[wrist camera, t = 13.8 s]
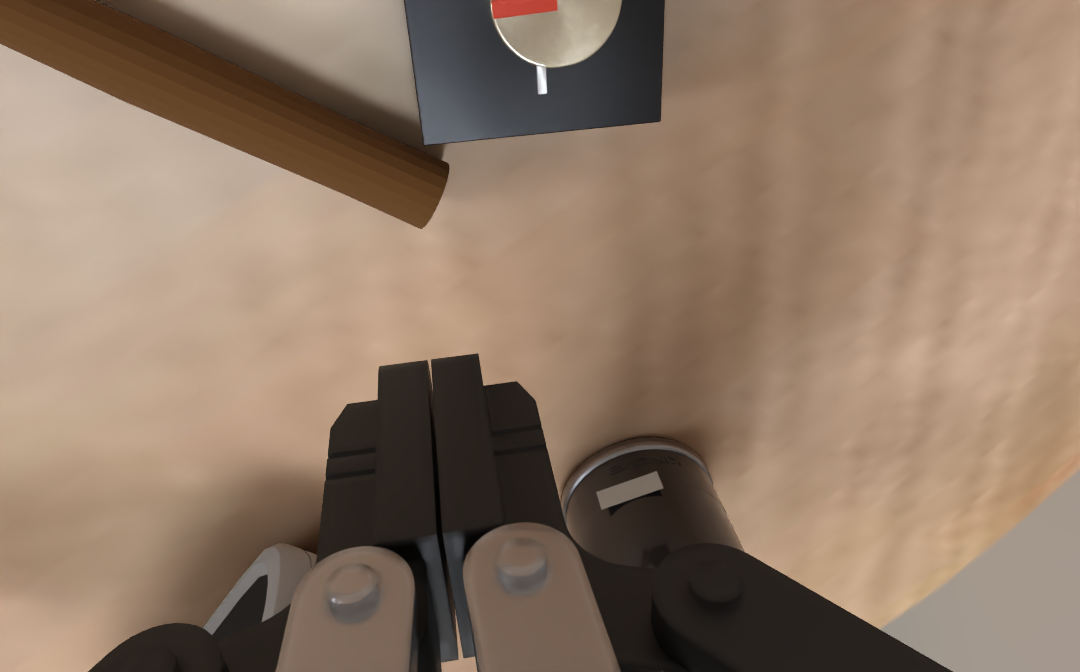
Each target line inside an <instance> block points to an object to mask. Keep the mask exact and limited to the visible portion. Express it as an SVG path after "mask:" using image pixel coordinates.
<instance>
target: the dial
mask: <svg viewBox="0 0 1080 672" xmlns="http://www.w3.org/2000/svg"><path fill="white" fill-rule="evenodd" d="M482 1H483V4H484V6H485V8H486V10H487V12H488V14H489V16H490V18H491V20H492V22H493V24H494V26H495V28H496V30H497V32H498V34H499V36H500V38H501V39H502V41H503V42H504V43H505V45H506V46H507V47H508V48H509V49H510V50H511V51H512V52H513V53H514V54H515V55H517V56H518V57H519V58H521V59H522V60H524V61H526V62H528V63H530V64H533V65H536V66H540V67H545V68H562V67H567V66H571V65H574V64H577V63H579V62H581V61H583V60H585V59H587V58H588V57H590V56H591V55H593V54H594V53H595V52H596V51H597V50H599V49H600V48H601V46H602V45H603V44H604V43H605V42H606V41H607V39H608V38H609V36H610V35H611V33H612V31H613V29H614V27H615V25H616V23H617V20H618V17H619V14H620V10H621V4H622V0H482Z"/></svg>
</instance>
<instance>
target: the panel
mask: <svg viewBox="0 0 1080 672" xmlns="http://www.w3.org/2000/svg"><path fill="white" fill-rule="evenodd" d="M404 4H405V12H406V19H407V27H408V34H409V41H410V49H411V56H412V63H413V71H414V78H415V86H416V93H417V100H418V108H419V115H420V122H421V130H422V137H423V144H424V145H435V144H445V143H455V142H465V141H474V140H484V139H494V138H504V137H514V136H524V135H534V134H544V133H554V132H564V131H574V130H584V129H594V128H603V127H613V126H623V125H633V124H643V123H653V122H660V121H661V97H662V68H663V38H664V8H665V0H622V4H621V10H620V14H619V17H618V20H617V23H616V25H615V27H614V29H613V31H612V33H611V35H610V36H609V38H608V39H607V41H606V42H605V43H604V44H603V45H602V46H601V48H600V49H599V50H597V51H596V52H595V53H594V54H593V55H591V56H590V57H588V58H587V59H585V60H583V61H581V62H579V63H577V64H574V65H571V66H567V67H562V68H545V67H540V66H536V65H533V64H530V63H528V62H526V61H524V60H522V59H521V58H519V57H518V56H517V55H515V54H514V53H513V52H512V51H511V50H510V49H509V48H508V47H507V46H506V45H505V43H504V42H503V41H502V39H501V38H500V36H499V34H498V32H497V30H496V28H495V26H494V24H493V22H492V20H491V18H490V16H489V14H488V12H487V10H486V8H485V6H484V4H483V1H482V0H404Z"/></svg>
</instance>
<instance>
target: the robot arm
mask: <svg viewBox="0 0 1080 672" xmlns="http://www.w3.org/2000/svg"><path fill="white" fill-rule="evenodd" d="M431 367H432V382H433V389H432V383H431V377H430V370H429V365H428V361H427V360H425V361H417V362H410V363H402V364H394V365H386V366H380V367H379V373H378V400H374V401H367V402H359V403H351V404H347V405H346V407H345V408H344V410H343V411H342V413H341V414H340V416H339V417H338V418H337V420H336V421H335V423H334V424H333V426H332V427H331V430H330V439H329V449H328V459H327V467H326V481H325V485H324V495H323V504H322V513H321V522H320V532H319V541H318V550H317V559H316V564H315V565H314V566H313V567H312V568H311V569H310V570H309V571H308V572H307V573H306V574H305V575H304V577H303V578H302V579H301V580H300V582H299V584H298V586H297V587H296V589H295V592H294V595H293V598H292V602H291V603H290V604H289V605H288V606H287V607H285V608H284V609H283V610H282V611H280V612H279V613H277V614H275V615H274V616H272V617H271V618H269V619H267V620H265V621H263V622H261V623H259V624H257V625H254V626H252V627H250V628H247V629H245V630H243V631H240V632H238V633H236V634H233V635H231V636H229V637H227V638H224V639H222V640H220V641H216V640H215V638H214V637H213V636H212V635H211V634H210V633H209V632H208V631H206V630H205V629H203V628H201V627H198V626H196V625H191V624H187V623H173V624H165V625H161V626H157V627H153V628H150V629H148V630H145V631H142V632H140V633H138V634H136V635H134V636H132V637H130V638H129V639H127V640H126V641H124V642H123V643H121V644H120V645H118V646H117V647H116V648H115V649H113V650H112V651H111V652H110V653H108V654H107V655H106V656H105V657H104V658H103V659H102V660H101V661H99V662H98V663H97V664H96V665H95V666H94V667H93V668H92V669H91V670H89V671H88V672H442V670H441V662H446V661H452V660H458V646H457V633H456V620H455V610H456V616H457V622H458V628H459V634H460V640H461V646H462V652H463V658H468V657H474V656H475V658H476V664H477V671H478V672H952V671H950V670H949V669H947V668H945V667H944V666H942V665H940V664H938V663H937V662H935V661H933V660H931V659H930V658H928V657H926V656H924V655H923V654H921V653H919V652H918V651H916V650H914V649H912V648H911V647H909V646H907V645H905V644H904V643H902V642H900V641H898V640H897V639H895V638H893V637H891V636H890V635H888V634H886V633H885V632H883V631H881V630H879V629H878V628H876V627H874V626H872V625H871V624H869V623H867V622H865V621H864V620H862V619H860V618H859V617H857V616H855V615H853V614H852V613H850V612H848V611H846V610H845V609H843V608H841V607H839V606H838V605H836V604H834V603H832V602H831V601H829V600H827V599H825V598H824V597H822V596H820V595H819V594H817V593H815V592H813V591H812V590H810V589H808V588H806V587H805V586H803V585H801V584H799V583H798V582H796V581H794V580H792V579H791V578H789V577H787V576H786V575H784V574H782V573H780V572H779V571H777V570H775V569H773V568H772V567H770V566H768V565H766V564H765V563H763V562H761V561H759V560H758V559H756V558H754V557H752V556H751V555H749V554H747V553H745V552H744V549H743V547H742V545H741V543H740V541H739V539H738V537H737V535H736V533H735V531H734V529H733V527H732V524H731V522H730V520H729V518H728V516H727V514H726V512H725V509H724V507H723V505H722V503H721V501H720V499H719V497H718V495H717V493H716V491H715V489H714V487H713V483H712V479H711V477H710V474H709V472H708V470H707V468H706V466H705V464H704V462H703V461H702V459H701V458H700V457H699V456H698V455H697V454H696V453H695V452H694V451H693V450H692V449H690V448H689V447H687V446H685V445H683V444H681V443H679V442H676V441H673V440H669V439H663V438H637V439H631V440H627V441H623V442H620V443H617V444H614V445H611V446H609V447H607V448H605V449H603V450H601V451H599V452H597V453H596V454H594V455H592V456H591V457H590V458H588V459H587V460H586V461H585V462H583V463H582V464H581V465H580V466H579V467H578V468H577V469H576V471H575V472H574V473H573V474H572V476H571V477H570V479H569V480H568V482H567V484H566V486H565V488H564V491H563V494H562V499H561V504H560V499H559V495H558V491H557V487H556V483H555V479H554V475H553V471H552V467H551V462H550V458H549V454H548V450H547V448H546V442H545V438H544V434H543V430H542V427H541V421H540V417H539V413H538V409H537V405H536V401H535V400H534V399H533V397H532V396H531V395H530V394H529V393H528V392H527V391H526V390H525V389H524V388H523V387H522V386H521V385H520V384H519V383H518V382H517V381H516V382H509V383H501V384H494V385H486V386H483V381H482V374H481V368H480V361H479V355H478V354H471V355H463V356H455V357H447V358H439V359H432V360H431ZM454 605H455V606H454Z"/></svg>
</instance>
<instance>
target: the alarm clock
mask: <svg viewBox="0 0 1080 672" xmlns="http://www.w3.org/2000/svg"><path fill="white" fill-rule="evenodd" d="M316 559H317V554H314V553H311V552H308V551H305V550H304V551H303V549H300V548H297V547H294V546H291V545H289V544H283V543H280V544H276V545H273V546H270V547H268V548H266V549H265V550H264V551H263V552H262V553H261V554H260V555H259V556H258V558H257V559H256V560H255V561H254V562H253V563H252V565H251V566H250V567H249V568H248V569H247V570H246V572H245V573H244V574H243V575H242V576H241V578H240V579H239V580H238V582H237V583H236V584H235V586H234V587H233V588H232V590H231V591H230V592H229V594H228V595H227V596H226V597H225V599H224V600H223V601H222V603H221V604H220V605H219V607H218V608H217V609H216V611H215V612H214V613H213V615H212V616H211V617H210V619H209V620H208V621H207V623H206V624H205V625H204V627H203V629H205V630H206V631H208V632H209V633H210V634H211V635H212V636H213V637H214V638H215V640H216V641H220V640H222V639H224V638H227V637H229V636H231V635H233V634H236V633H238V632H240V631H243V630H245V629H247V628H250V627H252V626H254V625H257V624H259V623H261V622H263V621H265V620H267V619H269V618H271V617H272V616H274V615H275V614H277V613H279V612H280V611H282V610H283V609H284V608H285V607H287V606H288V605H289V604H290V603H291V602H292V598H293V595H294V592H295V589H296V587H297V586H298V584H299V582H300V580H301V579H302V578H303V577H304V575H305V574H306V573H307V572H308V571H309V570H310V569H311V568H312V567H313V566H314V565H315V564H316Z"/></svg>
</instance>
